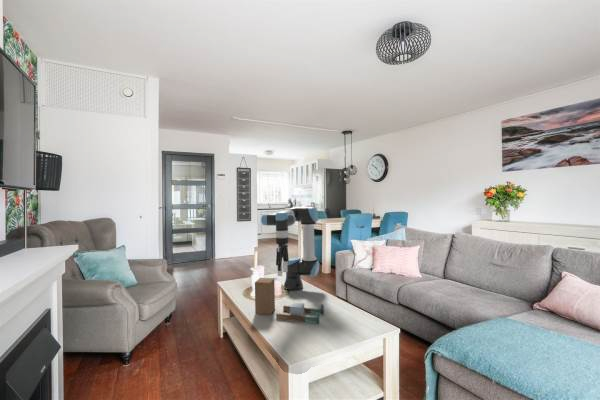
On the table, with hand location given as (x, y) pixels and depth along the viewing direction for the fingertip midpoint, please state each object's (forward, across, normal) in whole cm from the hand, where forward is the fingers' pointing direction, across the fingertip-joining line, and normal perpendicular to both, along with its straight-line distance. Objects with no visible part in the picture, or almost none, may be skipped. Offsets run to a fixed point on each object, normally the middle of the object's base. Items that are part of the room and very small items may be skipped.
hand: (282, 273), depth 174 cm
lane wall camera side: (+25, +6, +11) cm, 28 cm away
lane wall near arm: (+25, -6, +11) cm, 28 cm away
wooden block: (+26, -2, -13) cm, 29 cm away
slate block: (+25, 0, +9) cm, 27 cm away
